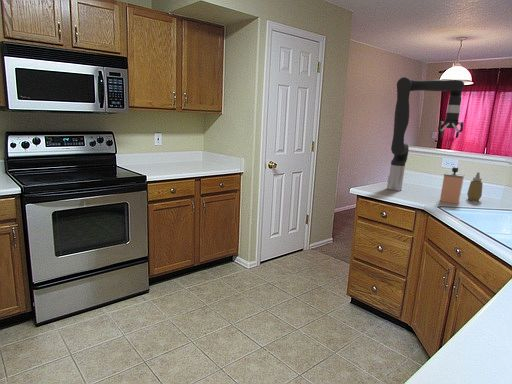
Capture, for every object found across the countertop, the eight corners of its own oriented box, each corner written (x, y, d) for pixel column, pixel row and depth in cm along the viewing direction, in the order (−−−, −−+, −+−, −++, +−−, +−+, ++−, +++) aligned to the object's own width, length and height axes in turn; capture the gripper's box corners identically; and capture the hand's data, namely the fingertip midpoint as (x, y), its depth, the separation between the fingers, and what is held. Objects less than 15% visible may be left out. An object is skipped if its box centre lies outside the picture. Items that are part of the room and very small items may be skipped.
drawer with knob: (439, 199, 228) (445, 167, 223) (442, 196, 236) (447, 165, 232) (458, 202, 222) (464, 169, 218) (460, 199, 231) (465, 167, 226)
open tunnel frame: (439, 201, 228) (444, 175, 224) (442, 198, 236) (446, 173, 233) (457, 204, 223) (462, 178, 219) (459, 201, 231) (463, 176, 227)
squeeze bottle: (473, 201, 231) (478, 173, 227) (463, 198, 239) (468, 171, 235) (483, 201, 234) (489, 173, 230) (473, 198, 241) (478, 171, 237)
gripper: (440, 111, 236) (436, 137, 240) (465, 112, 229) (460, 139, 232) (441, 112, 243) (437, 136, 246) (466, 113, 235) (461, 138, 239)
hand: (448, 137), depth 239 cm, fingers open, 8 cm apart
